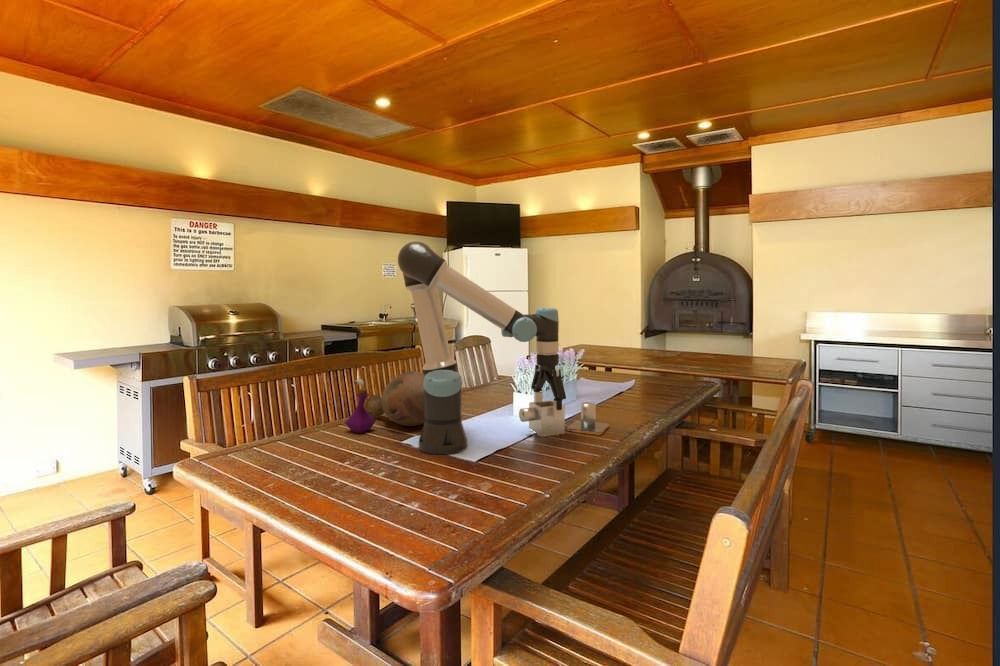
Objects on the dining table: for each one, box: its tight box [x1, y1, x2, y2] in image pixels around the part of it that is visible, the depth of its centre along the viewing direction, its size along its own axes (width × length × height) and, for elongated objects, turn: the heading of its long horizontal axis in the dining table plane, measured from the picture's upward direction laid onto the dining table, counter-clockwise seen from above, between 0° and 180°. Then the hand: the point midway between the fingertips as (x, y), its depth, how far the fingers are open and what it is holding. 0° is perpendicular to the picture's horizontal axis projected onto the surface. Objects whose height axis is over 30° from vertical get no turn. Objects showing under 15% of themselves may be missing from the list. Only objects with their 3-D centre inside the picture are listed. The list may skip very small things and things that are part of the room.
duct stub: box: [566, 401, 610, 433], centre depth 181 cm, size 12×12×9 cm
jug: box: [364, 370, 424, 427], centre depth 188 cm, size 20×20×30 cm
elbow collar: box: [518, 399, 566, 436], centre depth 176 cm, size 14×9×10 cm, turn 113°
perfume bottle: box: [344, 378, 376, 434], centre depth 177 cm, size 8×8×18 cm
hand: (547, 414), depth 177 cm, fingers open, 13 cm apart
